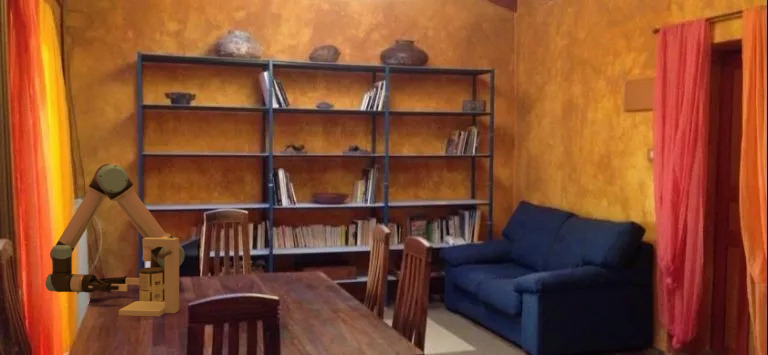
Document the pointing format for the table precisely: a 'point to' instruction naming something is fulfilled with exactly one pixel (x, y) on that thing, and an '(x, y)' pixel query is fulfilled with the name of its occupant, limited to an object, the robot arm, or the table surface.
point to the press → (170, 280)
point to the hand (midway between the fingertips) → (134, 284)
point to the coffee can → (152, 284)
